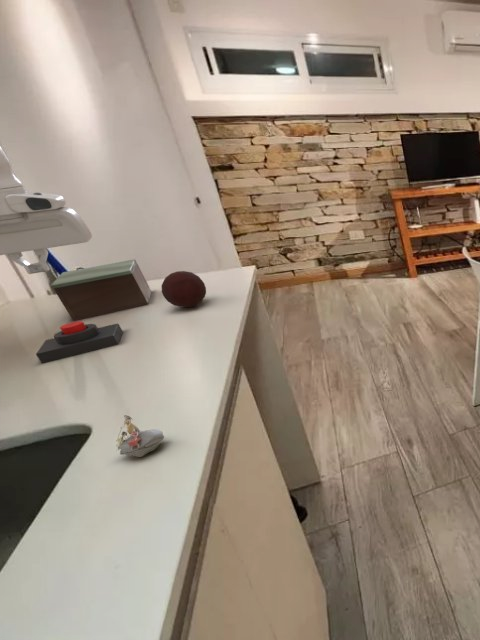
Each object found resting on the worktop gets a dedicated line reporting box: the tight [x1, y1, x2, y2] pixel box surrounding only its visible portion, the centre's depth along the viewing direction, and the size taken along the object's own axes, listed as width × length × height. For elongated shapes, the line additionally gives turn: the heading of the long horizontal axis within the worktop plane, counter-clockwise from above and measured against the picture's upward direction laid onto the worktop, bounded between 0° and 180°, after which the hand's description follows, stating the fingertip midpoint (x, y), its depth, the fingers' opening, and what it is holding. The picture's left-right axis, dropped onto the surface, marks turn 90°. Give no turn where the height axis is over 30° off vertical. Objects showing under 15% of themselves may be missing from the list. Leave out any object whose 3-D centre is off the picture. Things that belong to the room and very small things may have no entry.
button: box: [59, 320, 87, 335], centre depth 102 cm, size 4×4×2 cm
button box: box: [35, 322, 124, 364], centre depth 103 cm, size 12×9×4 cm
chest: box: [53, 261, 153, 322], centre depth 126 cm, size 14×15×9 cm
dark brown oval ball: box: [161, 270, 207, 308], centre depth 122 cm, size 9×12×9 cm
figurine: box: [115, 414, 165, 458], centre depth 67 cm, size 5×4×6 cm
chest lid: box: [50, 259, 137, 290], centre depth 124 cm, size 15×15×1 cm
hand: (39, 272), depth 98 cm, fingers closed
